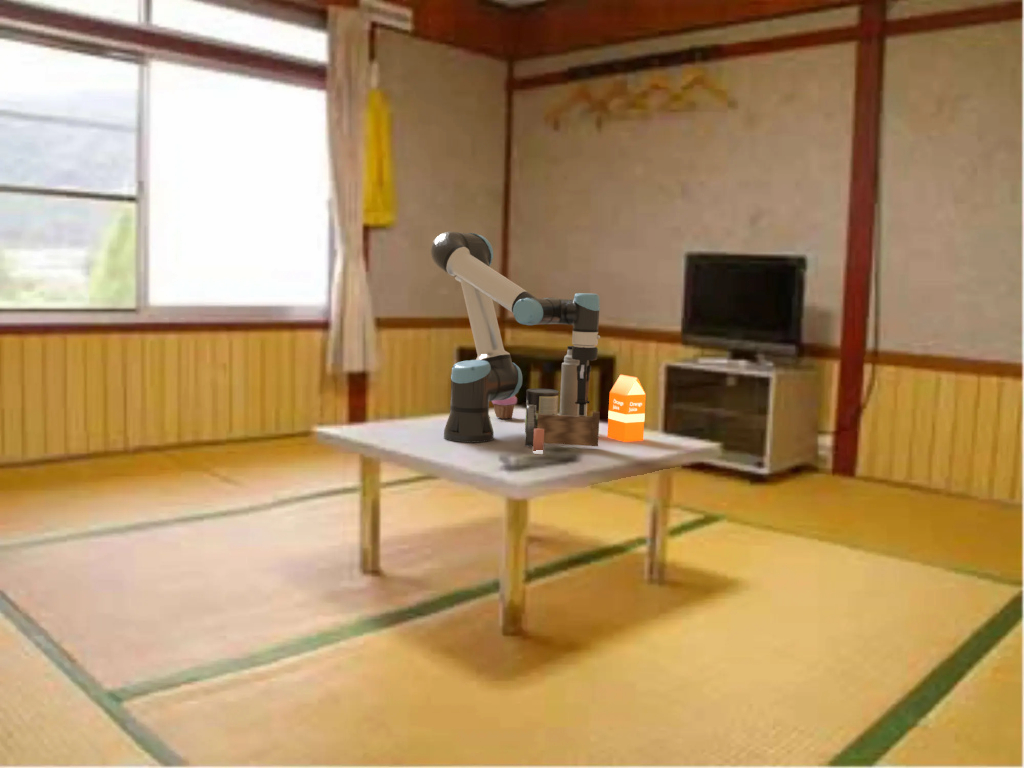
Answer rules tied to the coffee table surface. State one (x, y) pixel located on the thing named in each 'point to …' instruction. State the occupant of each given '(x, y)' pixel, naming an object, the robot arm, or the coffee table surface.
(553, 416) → the gate
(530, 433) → the hinge post
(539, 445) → the latch post
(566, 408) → the thermos bottle
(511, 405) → the cupcake
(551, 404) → the coffee can
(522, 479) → the coffee table surface
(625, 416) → the orange juice
